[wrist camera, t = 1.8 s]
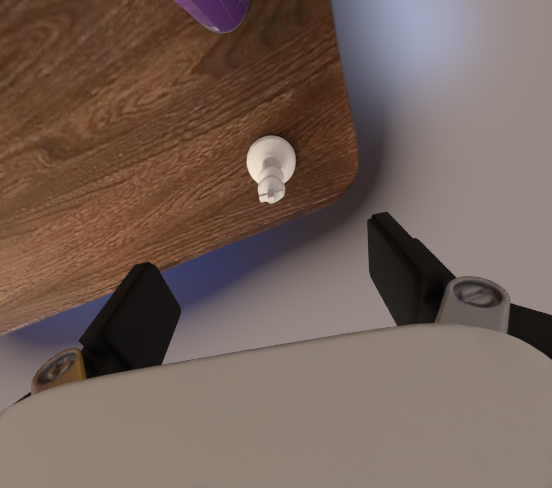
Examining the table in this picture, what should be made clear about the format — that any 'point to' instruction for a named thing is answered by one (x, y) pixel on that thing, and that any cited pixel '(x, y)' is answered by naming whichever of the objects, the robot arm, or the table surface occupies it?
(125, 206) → the table surface
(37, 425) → the robot arm
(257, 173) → the chess piece
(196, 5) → the container
